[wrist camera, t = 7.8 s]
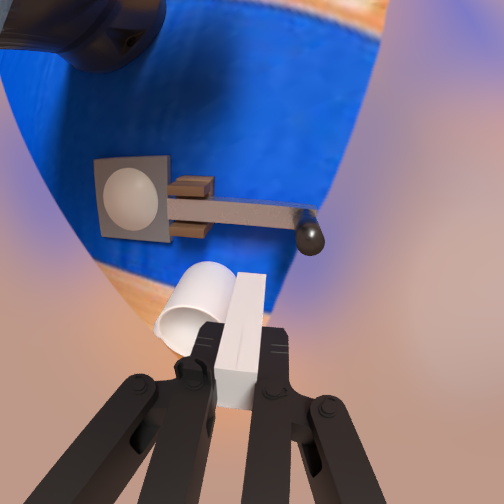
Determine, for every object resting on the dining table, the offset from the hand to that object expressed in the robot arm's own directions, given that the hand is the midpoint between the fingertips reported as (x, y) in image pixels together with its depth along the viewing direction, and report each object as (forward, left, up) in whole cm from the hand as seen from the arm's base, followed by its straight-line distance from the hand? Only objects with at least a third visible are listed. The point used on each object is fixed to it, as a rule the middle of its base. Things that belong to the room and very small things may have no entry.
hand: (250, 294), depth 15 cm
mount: (0, -8, -19) cm, 20 cm away
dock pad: (0, -17, -19) cm, 25 cm away
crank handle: (0, -2, -16) cm, 16 cm away
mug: (+13, -8, -19) cm, 25 cm away
